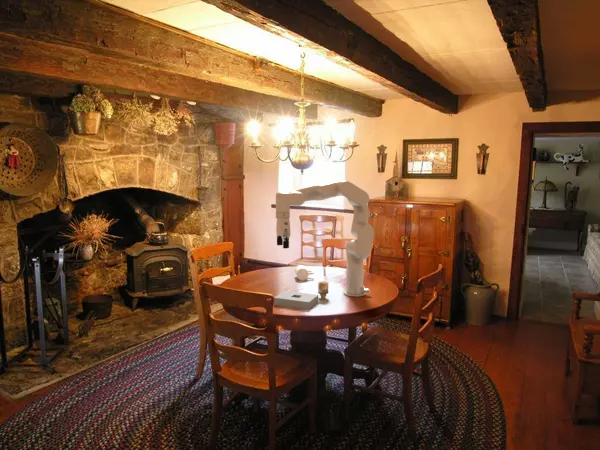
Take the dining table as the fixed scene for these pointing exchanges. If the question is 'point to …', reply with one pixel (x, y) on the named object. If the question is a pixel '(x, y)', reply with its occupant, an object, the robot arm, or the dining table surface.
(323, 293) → the maple peg
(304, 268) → the mug
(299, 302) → the grey block with hole
